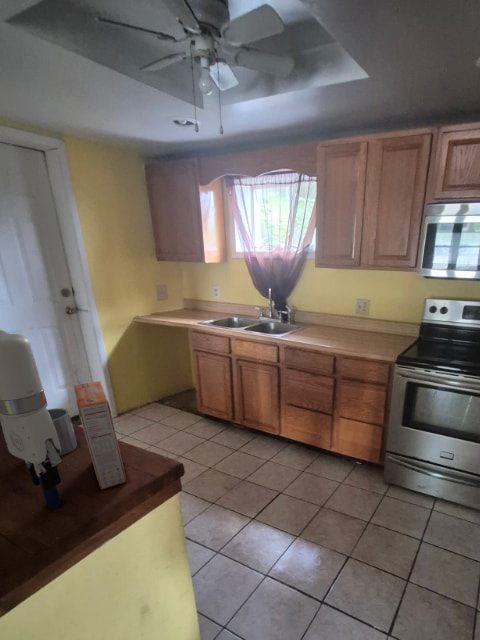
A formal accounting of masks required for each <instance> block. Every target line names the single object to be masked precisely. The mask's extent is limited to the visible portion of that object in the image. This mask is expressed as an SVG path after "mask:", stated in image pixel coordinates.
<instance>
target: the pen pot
mask: <svg viewBox="0 0 480 640" xmlns="http://www.w3.org/2000/svg"><path fill="white" fill-rule="evenodd" d="M47 410H48V412H49V414H50V417H51V419H52V421H53V424H54V427H55V429H56V432H57V435H58V438H59V442H60V446H61V453H60V454H59V456H65V455H66V454H69V453H71V452H73V451H74V450H75V449H76V448H77V447H78V441H77V437H76V434H75V430H74V426H73V422H72V418H71V414H70V411H69V410H68V409H67V408H62V407H61V408H59V407H58V408H57V407H56V408H50V409H47ZM46 455H47V454H46Z"/></svg>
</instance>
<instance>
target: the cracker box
mask: <svg viewBox="0 0 480 640" xmlns="http://www.w3.org/2000/svg"><path fill="white" fill-rule="evenodd" d="M73 390H74V396H75V401H76V406H77V412H78V415H79V419H80V423H81V427H82V430H83V434H84V438H85V442H86V446H87V448H88V452H89V456H90V459H91V462H92V463H91V464H92V466H93V470H94V473H95V476H96V479H97V483H98V486H99V489H100V490H106V489H109V488H112V487H115V486H119V485H122V484H125V483H127V482H128V480H127V477H126V473H125V467H124V464H123V460H122V455H121V451H120V447H119V442H118V438H117V434H116V429H115V424H114V419H113V416H112V411H111V406H110V402H109V400H108V398H107V397H108V396H107V395H106V393H105V390H104V388H103V385H102V382H101V381H99V380H98V381H94V382H88V383H81V384H76V385H73Z"/></svg>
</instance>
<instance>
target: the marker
mask: <svg viewBox="0 0 480 640" xmlns="http://www.w3.org/2000/svg"><path fill="white" fill-rule="evenodd" d="M49 461H50V460H49V459H48V460H46V461H44V465H45V464H46V463H47V462H49ZM33 464H34V463H33ZM34 467H35V471H36V474H37V476H38V479H39V482H40V484H39V486H40V488H41V491H42V494H43V496H44V500H45V503H46V506H47V508H48V509H50V510H52V509H56V508H59V507H60V506H61V504H62V501H61V497H60V495H59V491H58V487H57V485H56V486H54V487H52V488H50V489H48V490H45V489H44V488H43V485H42V482H41V479H40V475H39V473H41V471H40V469H39V466H38V464H34Z"/></svg>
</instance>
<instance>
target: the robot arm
mask: <svg viewBox="0 0 480 640" xmlns="http://www.w3.org/2000/svg"><path fill="white" fill-rule="evenodd" d="M47 407H48V401H47V397H46V393H45V390H44V387H43V384H42V381H41V375H40V373H39V370H38V365H37V363H36V359H35V355H34V351H33V349H32V346H31V342H30V340H29V339H28V338H27V336H25V335H23V334H19V333H9V332H7V331H6V330H4V329H1V328H0V426H1V429H2V434H3V437H4V440H5V443H6V447H7V451H8V453H10V455H12V456H14V457H16V458H18V459H20V460H23V461H24V462H25V467H27V468H28V471H29V475H30V478H31V481H32V484H33V485H34V486H40V482H39V479H38V476H37V474H36V471H35V467H34V464H38V466H39V469H40V471H41V473H39V475H40V479H41V482H42V485H43V488H44V489H45V490H48V489H50V488H52V487H54V486H56V487H57V485H59V484H61V482H62V479H61V476H60V473H59V469H58V467H59V465H61V464H63V460H62V458H61V457H60V456H59V454H60V453H61V446H60V442H59V438H58V435H57V432H56V429H55V427H54V424H53V421H52V419H51V417H50V414H49V412H48V410H49V409H48V408H47ZM46 454H47V455H46ZM46 460H48V461H49V462H47V463H46V464H45V465H44V461H46ZM33 463H34V464H33Z"/></svg>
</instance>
